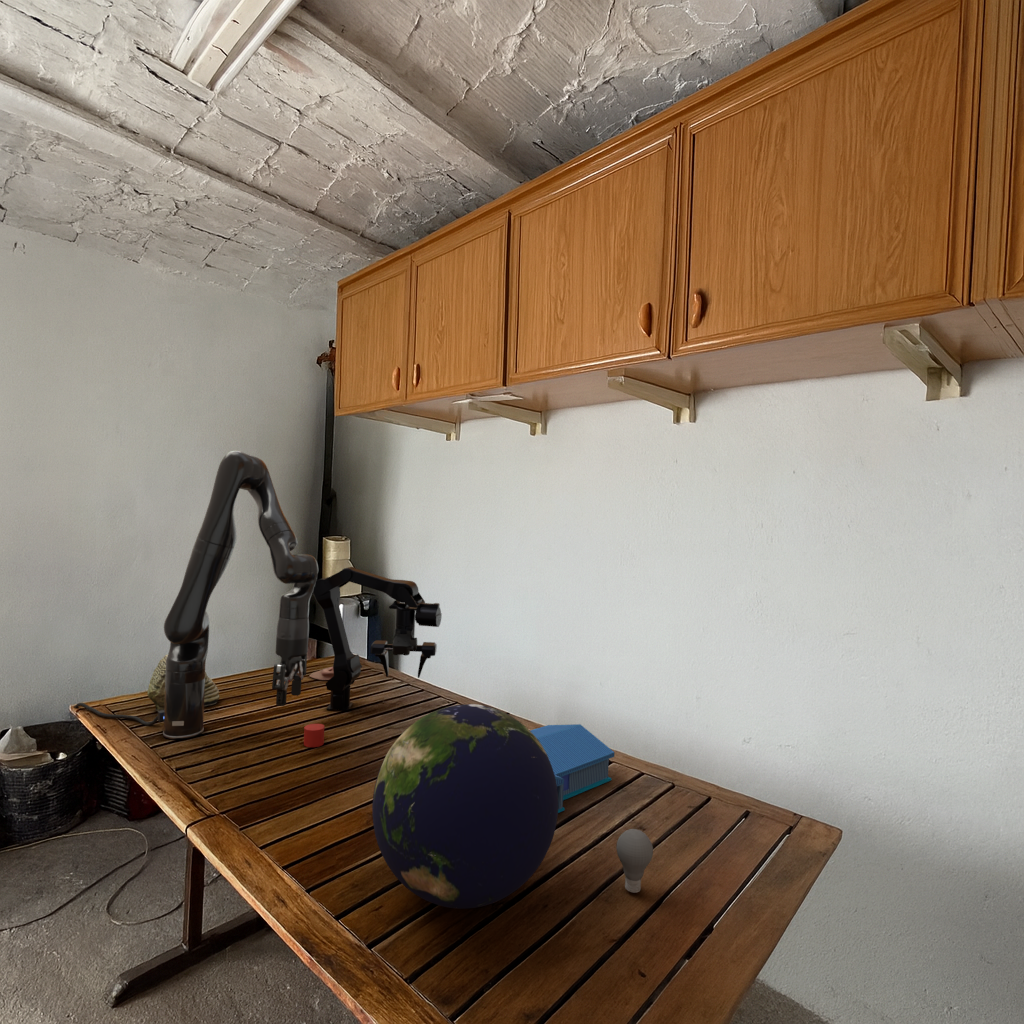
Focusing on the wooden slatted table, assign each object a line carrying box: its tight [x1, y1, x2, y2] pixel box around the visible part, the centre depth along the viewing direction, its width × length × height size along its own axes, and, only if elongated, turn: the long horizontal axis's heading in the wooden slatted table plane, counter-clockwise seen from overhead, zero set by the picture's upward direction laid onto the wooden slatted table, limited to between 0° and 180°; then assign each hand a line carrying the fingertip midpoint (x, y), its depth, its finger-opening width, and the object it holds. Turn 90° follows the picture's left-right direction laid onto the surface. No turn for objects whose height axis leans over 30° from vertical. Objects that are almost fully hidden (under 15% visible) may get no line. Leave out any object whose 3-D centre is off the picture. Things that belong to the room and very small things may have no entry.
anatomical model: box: [308, 666, 334, 681], centre depth 222 cm, size 13×4×12 cm
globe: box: [371, 703, 559, 910], centre depth 103 cm, size 30×30×30 cm
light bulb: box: [615, 828, 654, 894], centre depth 106 cm, size 6×6×10 cm
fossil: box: [147, 654, 221, 711], centre depth 185 cm, size 9×18×15 cm, turn 132°
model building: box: [529, 723, 615, 814], centre depth 141 cm, size 39×24×10 cm, turn 132°
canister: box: [303, 723, 325, 748], centre depth 162 cm, size 5×5×4 cm
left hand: (288, 700), depth 157 cm, fingers open, 8 cm apart
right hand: (402, 677), depth 187 cm, fingers open, 9 cm apart
